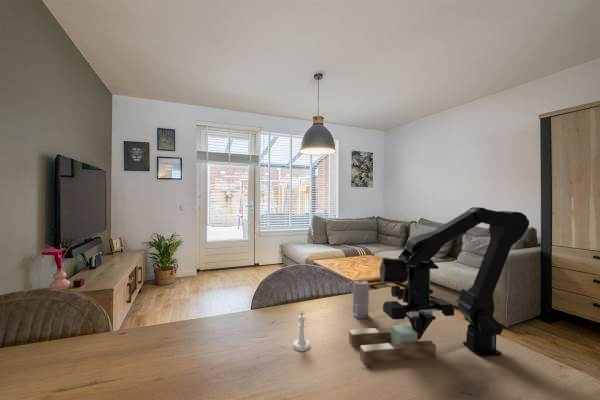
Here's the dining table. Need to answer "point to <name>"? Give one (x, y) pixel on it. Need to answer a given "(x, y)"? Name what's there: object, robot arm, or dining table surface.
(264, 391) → the dining table surface
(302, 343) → the chess piece
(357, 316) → the energy drink
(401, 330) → the block
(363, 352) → the chute
